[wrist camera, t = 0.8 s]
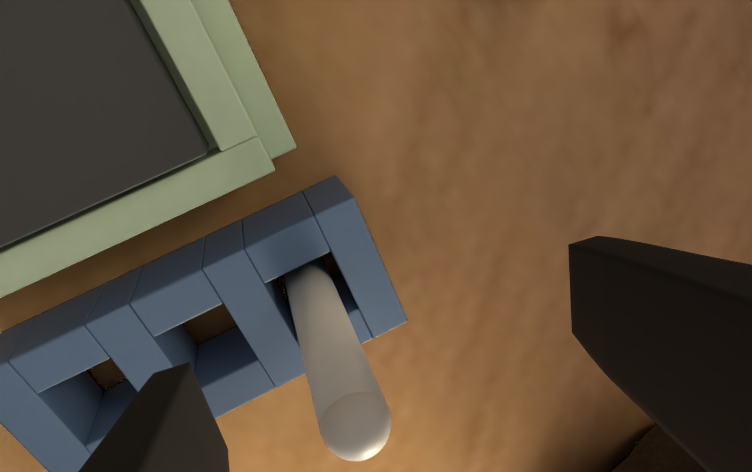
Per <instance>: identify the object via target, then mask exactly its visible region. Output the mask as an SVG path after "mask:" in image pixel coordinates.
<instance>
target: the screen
mask: <svg viewBox="0 0 752 472" xmlns="http://www.w3.org/2000/svg"><path fill="white" fill-rule="evenodd" d="M208 146H209V144H208V142H207V140H206V138H205V137H204V135H203V133H202V131H201V129H200V127H199V126H198V124H197V122H196V120H195V118H194V117H193V115H192V113H191V111H190V109H189V107H188V106H187V104H186V102H185V100H184V98H183V96H182V95H181V93H180V91H179V89H178V87H177V86H176V84H175V82H174V80H173V78H172V76H171V75H170V73H169V71H168V69H167V67H166V65H165V64H164V62H163V60H162V58H161V56H160V54H159V53H158V51H157V49H156V47H155V45H154V44H153V42H152V40H151V38H150V36H149V34H148V33H147V31H146V29H145V27H144V25H143V23H142V22H141V20H140V18H139V16H138V14H137V13H136V11H135V9H134V7H133V5H132V3H131V2H130V0H0V248H1V247H3V246H5V245H8V244H10V243H12V242H14V241H17V240H19V239H21V238H23V237H25V236H28V235H30V234H32V233H34V232H36V231H39V230H41V229H43V228H45V227H47V226H50V225H52V224H54V223H56V222H58V221H61V220H63V219H65V218H67V217H70V216H72V215H74V214H76V213H78V212H81V211H83V210H85V209H87V208H89V207H92V206H94V205H96V204H98V203H100V202H103V201H105V200H107V199H109V198H111V197H114V196H116V195H118V194H120V193H123V192H125V191H127V190H129V189H131V188H134V187H136V186H138V185H140V184H142V183H145V182H147V181H149V180H151V179H153V178H156V177H158V176H160V175H162V174H164V173H167V172H169V171H171V170H173V169H176V168H178V167H180V166H182V165H184V164H187V163H189V162H191V161H193V160H195V159H198V158H200V157H202V156H204V155H206V154H207V152H208Z"/></svg>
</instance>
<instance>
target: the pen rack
mask: <svg viewBox="0 0 752 472" xmlns="http://www.w3.org/2000/svg"><path fill="white" fill-rule="evenodd" d="M330 250H331V253H332V255H333V257H334V259H335V261H336V263H337V265H338V267H339V269H340V271H341V273H342V275H343V276H342V275H340V276H338V277H336V278H334V279H332V281H333V283H334V285H335V288H336V290H337V292H338V294H339V297H340V299H341V301H342V303H343V306H344V308H345V310H346V312H347V315H348V317H349V319H350V321H351V324H352V326H353V328H354V330H355V333H356V335H357V337H358V339H359V342H360V344H363V343H365V342H367V341H369V340H371V339H372V336H373V338H376V337H378V336H380V335H382V334H384V333H386V332H388V331H390V330H392V329H394V328H396V327H398V326H400V325H402V324H404V323H405V322H407V321H408V319H407V317H406V314H405V312H404V310H403V308H402V305H401V303H400V301H399V298H398V296H397V294H396V292H395V289H394V287H393V285H392V282H391V280H390V278H389V276H388V273H387V271H386V269H385V266H384V264H383V262H382V259H381V257H380V255H379V253H378V250H377V248H376V246H375V243H374V241H373V239H372V237H371V234H370V232H369V230H368V227H367V225H366V223H365V221H364V218H363V216H362V214H361V211H360V209H359V207H358V205H357V202H356V200H355V198H354V196H353V195H352V194H351V193H350V192H349V190H348V189H347V188H346V187H345V186H344V184H343V183H342V182H341V181H340V179H339V178H338V177H337V176H333V177H331V178H328V179H326V180H324V181H322V182H320V183H318V184H316V185H314V186H311V187H309V188H307V189H305V190H303V191H302V192H299V193H297V194H295V195H292V196H290V197H288V198H286V199H284V200H282V201H280V202H278V203H275V204H273V205H271V206H269V207H267V208H265V209H263V210H260V211H258V212H256V213H254V214H252V215H250V216H248V217H246V218H243V219H242V220H239V221H237V222H234V223H232V224H230V225H228V226H226V227H224V228H222V229H220V230H217V231H215V232H213V233H211V234H209V235H207V236H206V238H205V237H204V238H201V239H199V240H197V241H195V242H193V243H190V244H188V245H186V246H184V247H182V248H180V249H178V250H176V251H173V252H171V253H169V254H167V255H165V256H163V257H161V258H158V259H156V260H154V261H152V262H150V263H148V264H146V265H144V266H141V267H139V268H137V269H135V270H132V271H130V272H128V273H126V274H124V275H122V276H120V277H118V278H115V279H113V280H111V281H109V282H107V283H106V284H104V285H101V286H99V287H97V288H95V289H92V290H90V291H88V292H86V293H84V294H82V295H80V296H78V297H75V298H73V299H71V300H69V301H67V302H65V303H63V304H60V305H58V306H56V307H54V308H52V309H50V310H48V311H46V312H43V313H42V314H41V315H37V316H35V317H33V318H31V319H29V320H26V321H24V322H22V323H20V324H18V325H16V326H14V327H11V328H9V329H7V330H5V331H3V332H2V333H1V334H0V423H1V424H2V425H3V426H4V427H5V428H6V429H7V430H8V431H9V432H10V433H11V434H12V435H13V436H14V437H15V438H16V439H17V440H18V441H19V442H20V443H21V444H22V445H23V446H24V447H25V448H26V449H27V450H28V451H29V452H30V453H31V454H32V455H33V456H34V457H35V458H36V459H37V460H38V461H39V462H40V463H41V464H42V465H43V466H44V467H45V468H46V470H47V471H48V472H78V471H79V470H80V469H81V468H82V466H83V465H84V464H85V462H86V461H87V460H88V458H89V457H90V456H91V454H92V453H93V452H94V450H95V449H96V448H97V446H98V445H99V444H100V442H101V441H102V440H103V439H104V437H105V436H106V435H107V433H108V432H109V431H110V429H111V428H112V427H113V425H114V424H115V423H116V421H117V420H118V419H119V417H120V416H121V415H122V413H123V412H124V411H125V409H126V408H127V406H128V405H129V404H130V402H131V401H132V400H133V398H134V397H135V396H136V394H137V393H138V392H139V390H140V389H141V388H142V387H143V385H144V384H145V383H146V381H147V380H148V379H149V378H150V377H151V375H152V374H153V373H155V372H159V371H162V370H165V369H168V368H172V367H175V366H178V365H181V364H185V363H188V362H190V364H191V366H192V369H193V371H194V373H195V375H196V378H197V380H198V382H199V385H200V387H201V389H202V391H203V394H204V396H205V398H206V401H207V403H208V405H209V407H210V410H211V412H212V414H213V417H214V419H216V418H218V417H220V416H222V415H224V414H226V413H228V412H230V411H232V410H234V409H236V408H238V407H240V406H242V405H244V404H246V403H248V402H250V401H252V400H254V399H256V398H258V397H260V396H262V395H264V394H265V393H267V392H269V391H271V390H273V389H275V386H276V387H277V388H278V387H280V386H282V385H284V384H286V383H288V382H290V381H292V380H294V379H296V378H298V377H300V376H302V375H303V374H305V373H306V370H305V366H304V361H303V357H302V353H301V349H300V345H299V340H298V336H297V332H296V328H295V324H294V319H293V315H292V311H291V307H290V303H289V301H288V302H287V301H286V299H285V297H284V295H283V293H282V292H281V290H280V288H279V286H278V284H277V283H276V281H275V278H277V277H279V276H281V275H283V274H285V273H287V272H289V271H291V270H293V269H295V268H298V267H300V266H302V265H304V264H306V263H308V262H310V261H312V260H314V259H316V258H318V257H320V256H322V255H324V254H326V253H328V252H330ZM222 303H224V305H225V306H226V308H227V310H228V311H229V313H230V314H231V316H232V318H233V319H234V321H235V322H236V324H237V326H236V327H234V328H232V329H230V330H228V331H226V332H224V333H222V334H220V335H218V336H215V337H213V338H211V339H209V340H207V341H205V342H203V343H201V344H199V345H198V346H197V345H196V343H195V342H194V340H193V339H192V337H191V336H190V335H189V333H188V332H187V330H186V329H185V327H184V326H183V324H182V323H184V322H186V321H188V320H190V319H192V318H194V317H196V316H198V315H200V314H202V313H204V312H207V311H209V310H211V309H213V308H215V307H217V306H219V305H221V304H222ZM110 357H111V359H112V360H113V361H114V362H115V364H116V365H117V366H118V368H119V369H120V370H121V371H122V373H123V374H124V375H125V376H126V378H127V379H128V380H126V381H124V382H122V383H120V384H118V385H116V386H114V387H112V388H110V389H108V390H106V391H105V392H104V391H103V390H102V389H101V388H100V386H99V385H98V384H97V383H96V382H95V380H94V379H93V378H92V377H91V376H90V374H89V373H88V372H87V371H86V370H87V369H89V368H91V367H93V366H95V365H97V364H99V363H101V362H104V361H106V360H108V359H109V358H110Z"/></svg>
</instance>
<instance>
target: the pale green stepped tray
mask: <svg viewBox="0 0 752 472" xmlns="http://www.w3.org/2000/svg"><path fill="white" fill-rule="evenodd" d="M130 2H131V3H132V5H133V7H134V9H135V11H136V13H137V14H138V16H139V18H140V20H141V22H142V23H143V25H144V27H145V29H146V31H147V33H148V34H149V36H150V38H151V40H152V42H153V44H154V45H155V47H156V49H157V51H158V53H159V54H160V56H161V58H162V60H163V62H164V64H165V65H166V67H167V69H168V71H169V73H170V75H171V76H172V78H173V80H174V82H175V84H176V86H177V87H178V89H179V91H180V93H181V95H182V96H183V98H184V100H185V102H186V104H187V106H188V107H189V109H190V111H191V113H192V115H193V117H194V118H195V120H196V122H197V124H198V126H199V127H200V129H201V131H202V133H203V135H204V137H205V138H206V140H207V142H208V144H209V146H208V152H207V154H206V155H204V156H202V157H200V158H198V159H195V160H193V161H191V162H189V163H187V164H184V165H182V166H180V167H178V168H176V169H173V170H171V171H169V172H167V173H164V174H162V175H160V176H158V177H156V178H153V179H151V180H149V181H147V182H145V183H142V184H140V185H138V186H136V187H134V188H131V189H129V190H127V191H125V192H123V193H120V194H118V195H116V196H114V197H111V198H109V199H107V200H105V201H103V202H100V203H98V204H96V205H94V206H92V207H89V208H87V209H85V210H83V211H81V212H78V213H76V214H74V215H72V216H70V217H67V218H65V219H63V220H61V221H58V222H56V223H54V224H52V225H50V226H47V227H45V228H43V229H41V230H39V231H36V232H34V233H32V234H30V235H28V236H25V237H23V238H21V239H19V240H17V241H14V242H12V243H10V244H8V245H5V246H3V247H1V248H0V298H2V297H4V296H6V295H9V294H11V293H13V292H15V291H17V290H19V289H21V288H24V287H26V286H28V285H30V284H32V283H34V282H37V281H39V280H41V279H43V278H45V277H47V276H50V275H52V274H54V273H56V272H58V271H60V270H63V269H65V268H67V267H69V266H71V265H73V264H76V263H78V262H80V261H82V260H84V259H86V258H88V257H91V256H93V255H95V254H97V253H99V252H101V251H104V250H106V249H108V248H110V247H112V246H114V245H117V244H119V243H121V242H123V241H125V240H127V239H130V238H132V237H134V236H136V235H138V234H140V233H143V232H145V231H147V230H149V229H151V228H153V227H155V226H158V225H160V224H162V223H164V222H166V221H168V220H171V219H173V218H175V217H177V216H179V215H181V214H184V213H186V212H188V211H190V210H192V209H194V208H197V207H199V206H201V205H203V204H205V203H207V202H209V201H212V200H214V199H216V198H218V197H220V196H222V195H225V194H227V193H229V192H231V191H233V190H235V189H238V188H240V187H242V186H244V185H246V184H248V183H251V182H253V181H255V180H257V179H259V178H261V177H264V176H266V175H268V174H270V173H272V172H274V171H275V167H274V165H273V162H272V159H275V158H277V157H279V156H281V155H283V154H285V153H288V152H290V151H292V150H294V149H296V143H295V141H294V139H293V137H292V135H291V133H290V131H289V129H288V126H287V124H286V122H285V120H284V118H283V116H282V114H281V111H280V109H279V107H278V105H277V103H276V101H275V99H274V97H273V94H272V92H271V90H270V88H269V86H268V84H267V82H266V80H265V77H264V75H263V73H262V71H261V69H260V67H259V65H258V62H257V60H256V58H255V56H254V54H253V52H252V50H251V48H250V45H249V43H248V41H247V39H246V37H245V35H244V33H243V30H242V28H241V26H240V24H239V22H238V20H237V18H236V16H235V13H234V11H233V9H232V7H231V5H230V3H229V1H228V0H130Z"/></svg>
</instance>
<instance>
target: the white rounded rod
mask: <svg viewBox="0 0 752 472" xmlns="http://www.w3.org/2000/svg"><path fill="white" fill-rule="evenodd" d="M283 277H284V282H285V286H286V290H287V294H288V298H289V303H290V307H291V311H292V315H293V319H294V324H295V328H296V332H297V336H298V340H299V345H300V349H301V353H302V357H303V361H304V366H305V370H306V374H307V378H308V382H309V387H310V391H311V395H312V399H313V403H314V408H315V412H316V416H317V420H318V424H319V428H320V433H321V436H322V438H323V441H324V443H325V445H326V446H327V447H328V448H329V450H330V451H331V452H332V453H334V454H335V455H336V456H338V457H339V458H342V459H344V460H348V461H362V460H366V459H369V458H371V457H373V456H374V455H376V454H377V453H378V452H379V451H380V450H381V449H382V448H383V446H384V445H385V444H386V442H387V440H388V437H389V435H390V431H391V414H390V411H389V407H388V405H387V403H386V400H385V398H384V396H383V394H382V391H381V389H380V387H379V385H378V382H377V380H376V378H375V376H374V373H373V371H372V369H371V367H370V364H369V362H368V360H367V358H366V355H365V353H364V351H363V348H362V346H361V344H360V342H359V339H358V337H357V335H356V333H355V330H354V328H353V326H352V324H351V321H350V319H349V317H348V315H347V312H346V310H345V308H344V306H343V303H342V301H341V299H340V297H339V294H338V292H337V290H336V288H335V285H334V283H333V281H332V278H331V276H330V274H329V272H328V269H327V267H326V265H325V263H324V261H323V259H322V258H321V256H320V257H318V258H316V259H314V260H312V261H310V262H308V263H306V264H304V265H302V266H300V267H298V268H295V269H293V270H291V271H289V272H287V273H285V274H283Z"/></svg>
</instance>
